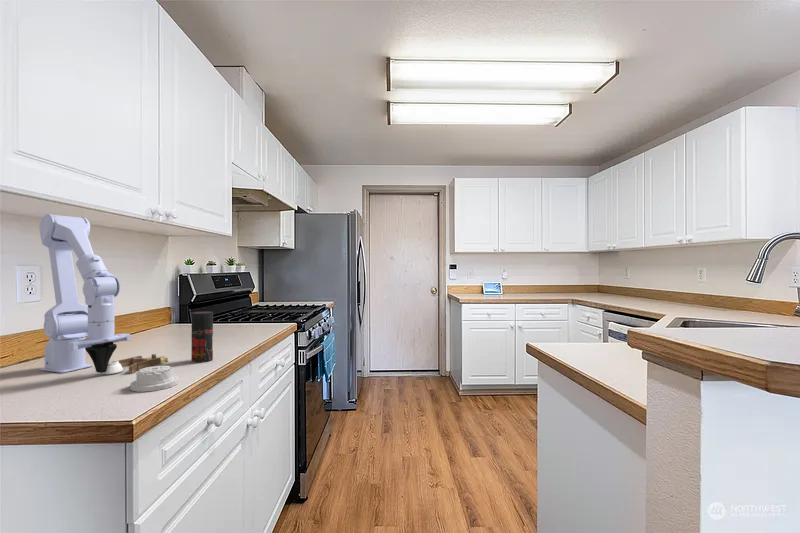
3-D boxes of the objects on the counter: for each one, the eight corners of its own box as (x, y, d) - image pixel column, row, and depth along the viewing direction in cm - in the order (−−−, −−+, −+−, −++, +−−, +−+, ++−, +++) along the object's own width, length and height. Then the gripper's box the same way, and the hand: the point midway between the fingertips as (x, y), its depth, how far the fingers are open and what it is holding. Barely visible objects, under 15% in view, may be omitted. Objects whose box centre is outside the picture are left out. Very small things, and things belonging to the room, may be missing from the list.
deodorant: (189, 360, 120) (189, 312, 120) (209, 357, 124) (209, 311, 124) (194, 363, 116) (194, 314, 116) (215, 360, 120) (215, 312, 120)
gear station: (100, 370, 108) (100, 361, 108) (150, 358, 123) (150, 350, 123) (130, 374, 105) (130, 365, 105) (179, 361, 119) (179, 353, 119)
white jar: (105, 371, 108) (96, 375, 103) (105, 360, 108) (96, 364, 103) (126, 369, 109) (117, 374, 104) (126, 359, 109) (118, 363, 104)
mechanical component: (119, 391, 91) (155, 394, 89) (119, 372, 91) (155, 375, 89) (154, 379, 101) (187, 381, 98) (154, 362, 101) (187, 364, 98)
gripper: (81, 325, 95) (81, 380, 95) (138, 318, 109) (138, 366, 109) (62, 324, 97) (62, 378, 97) (120, 317, 111) (120, 364, 111)
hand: (101, 371), depth 103 cm, fingers closed
